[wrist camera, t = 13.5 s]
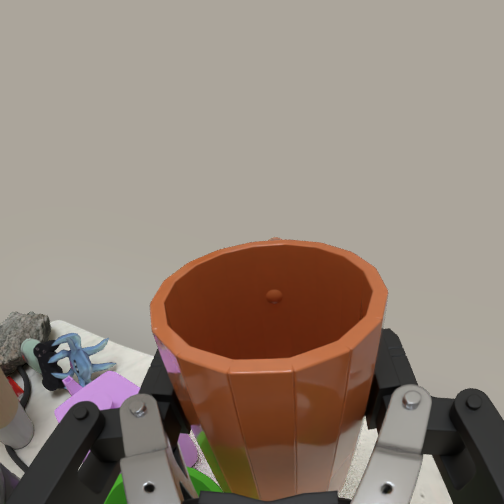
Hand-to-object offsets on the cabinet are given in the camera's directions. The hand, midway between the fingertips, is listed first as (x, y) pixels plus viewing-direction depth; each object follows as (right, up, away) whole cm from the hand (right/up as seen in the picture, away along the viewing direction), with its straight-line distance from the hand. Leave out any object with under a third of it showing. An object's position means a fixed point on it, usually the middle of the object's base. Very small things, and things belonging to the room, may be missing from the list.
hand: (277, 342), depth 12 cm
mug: (+1, -6, +2) cm, 6 cm away
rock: (-43, -16, +31) cm, 56 cm away
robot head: (-33, -16, +27) cm, 45 cm away
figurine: (-26, -11, +27) cm, 39 cm away
